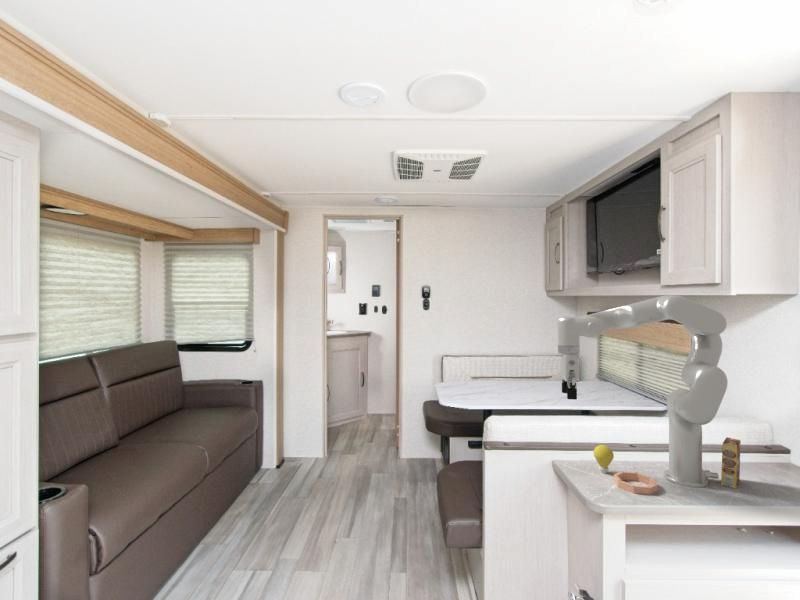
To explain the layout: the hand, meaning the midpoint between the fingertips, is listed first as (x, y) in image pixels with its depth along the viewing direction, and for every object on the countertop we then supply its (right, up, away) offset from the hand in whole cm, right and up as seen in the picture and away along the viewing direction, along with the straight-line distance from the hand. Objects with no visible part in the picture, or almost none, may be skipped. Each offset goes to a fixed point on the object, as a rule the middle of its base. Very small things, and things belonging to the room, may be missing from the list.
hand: (569, 396), depth 150 cm
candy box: (+51, -28, -11) cm, 59 cm away
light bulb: (+12, -28, -1) cm, 31 cm away
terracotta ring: (+17, -28, -13) cm, 35 cm away
